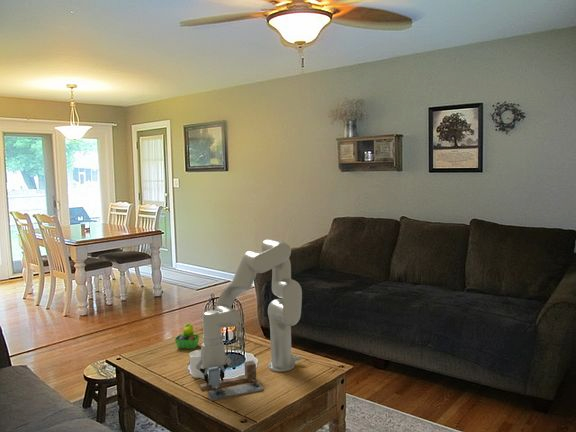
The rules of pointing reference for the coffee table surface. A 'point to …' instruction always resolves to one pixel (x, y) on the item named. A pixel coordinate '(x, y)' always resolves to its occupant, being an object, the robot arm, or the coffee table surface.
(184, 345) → the fruit basket
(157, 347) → the coffee table surface
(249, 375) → the beam
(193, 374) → the white cup
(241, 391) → the bolt plate
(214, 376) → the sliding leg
